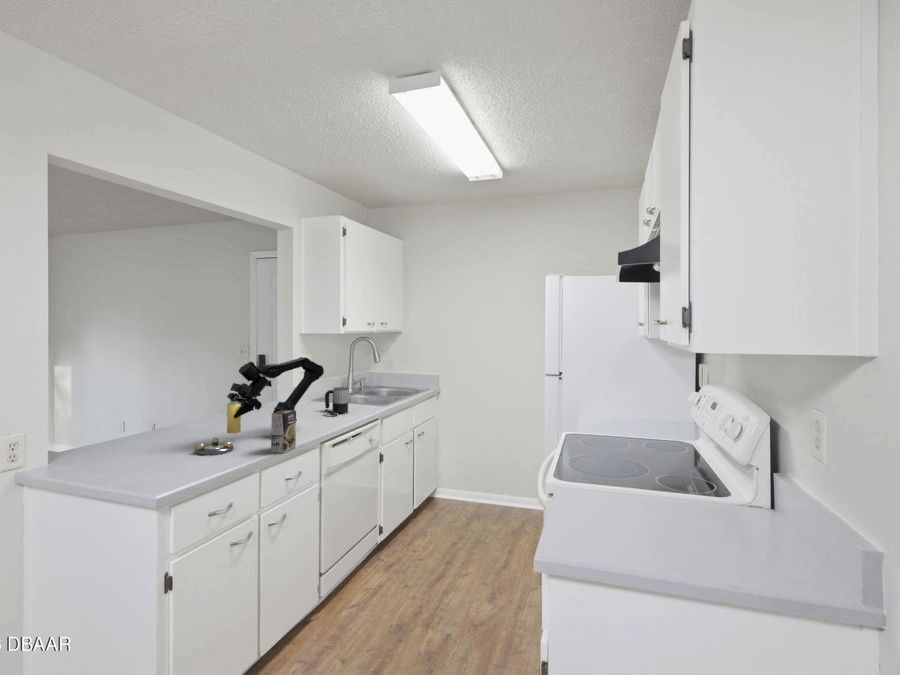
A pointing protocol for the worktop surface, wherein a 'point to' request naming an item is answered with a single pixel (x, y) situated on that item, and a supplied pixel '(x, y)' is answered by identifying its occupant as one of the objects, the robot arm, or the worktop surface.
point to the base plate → (214, 447)
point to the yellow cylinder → (232, 422)
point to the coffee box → (283, 431)
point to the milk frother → (337, 400)
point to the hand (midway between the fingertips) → (230, 416)
